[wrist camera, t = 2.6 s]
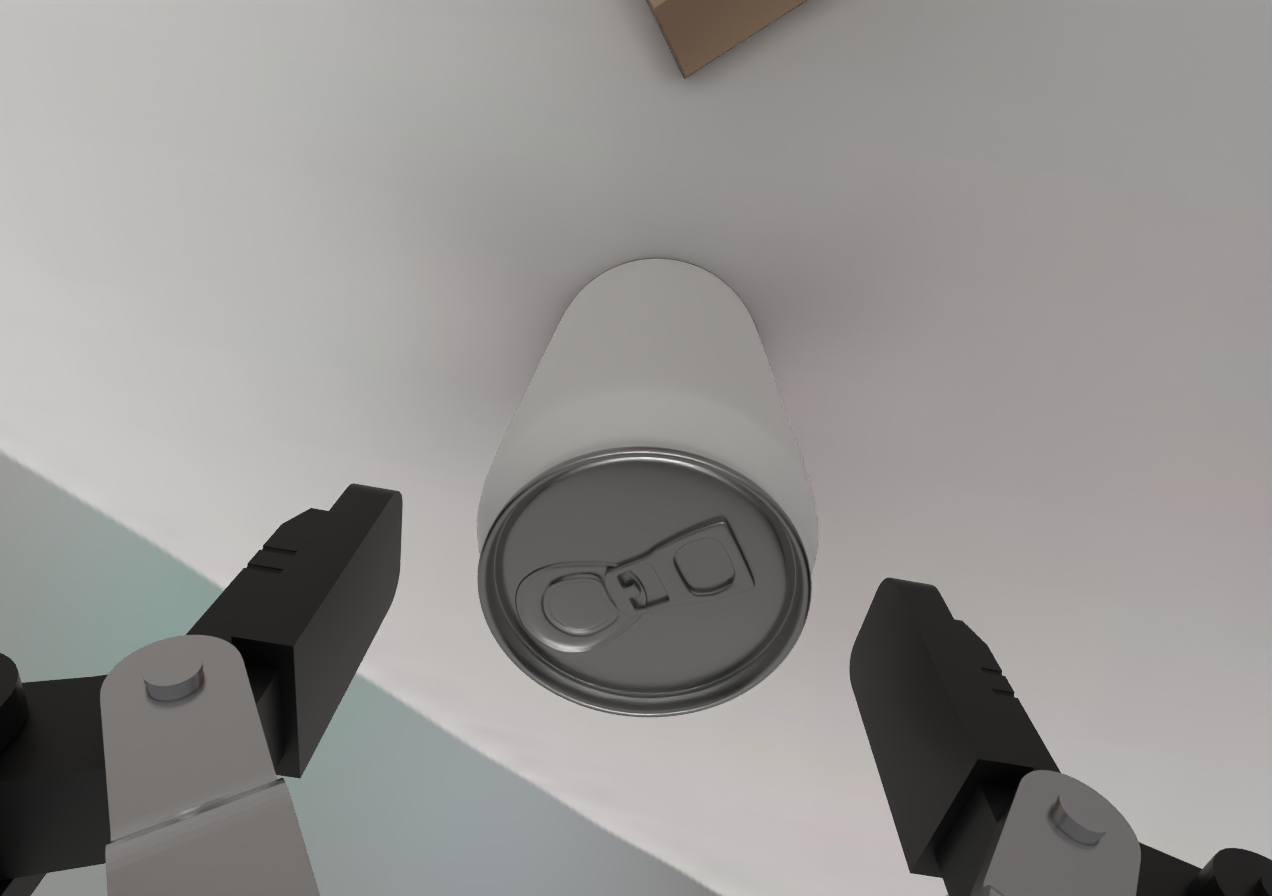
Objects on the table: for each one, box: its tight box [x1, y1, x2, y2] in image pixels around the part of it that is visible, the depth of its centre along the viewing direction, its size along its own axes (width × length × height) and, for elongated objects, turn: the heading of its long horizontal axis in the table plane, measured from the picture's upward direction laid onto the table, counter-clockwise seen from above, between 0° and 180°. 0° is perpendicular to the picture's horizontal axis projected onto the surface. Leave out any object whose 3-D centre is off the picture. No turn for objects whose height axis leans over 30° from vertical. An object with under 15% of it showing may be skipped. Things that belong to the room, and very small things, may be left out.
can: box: [477, 259, 818, 717], centre depth 17 cm, size 6×6×12 cm
